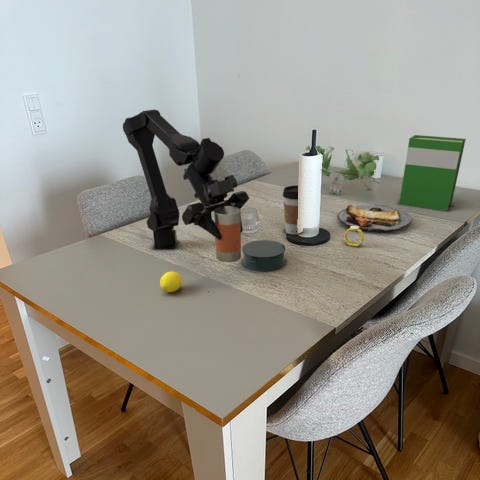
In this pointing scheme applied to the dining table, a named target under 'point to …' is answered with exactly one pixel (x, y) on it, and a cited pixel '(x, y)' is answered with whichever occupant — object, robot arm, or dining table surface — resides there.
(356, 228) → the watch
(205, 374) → the dining table surface
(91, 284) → the dining table surface
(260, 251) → the pot
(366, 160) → the plant cuttings
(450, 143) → the hardback book
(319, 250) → the dining table surface
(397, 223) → the food plate
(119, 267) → the dining table surface
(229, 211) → the can
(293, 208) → the coffee cup
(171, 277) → the lemon
